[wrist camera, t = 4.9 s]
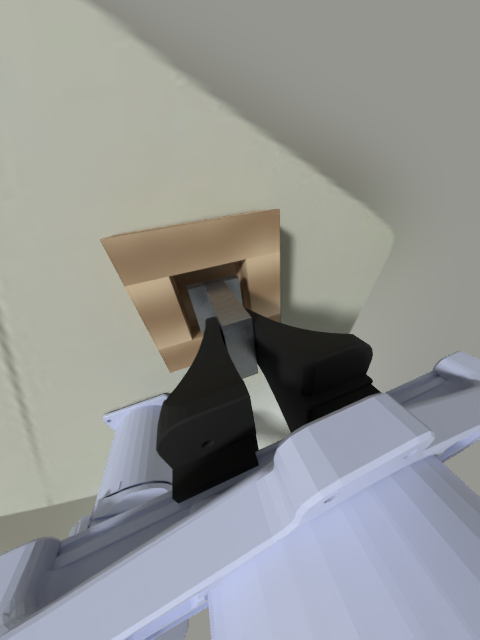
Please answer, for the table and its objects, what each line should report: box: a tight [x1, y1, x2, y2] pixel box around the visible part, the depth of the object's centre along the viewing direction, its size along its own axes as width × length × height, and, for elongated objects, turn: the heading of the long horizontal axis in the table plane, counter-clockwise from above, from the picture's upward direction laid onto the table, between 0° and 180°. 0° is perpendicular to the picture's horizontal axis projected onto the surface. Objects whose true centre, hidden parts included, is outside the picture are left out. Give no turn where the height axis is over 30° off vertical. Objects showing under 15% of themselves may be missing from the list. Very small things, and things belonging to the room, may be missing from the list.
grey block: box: [187, 274, 258, 379], centre depth 12 cm, size 4×4×7 cm
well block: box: [100, 209, 280, 373], centre depth 16 cm, size 12×12×4 cm
